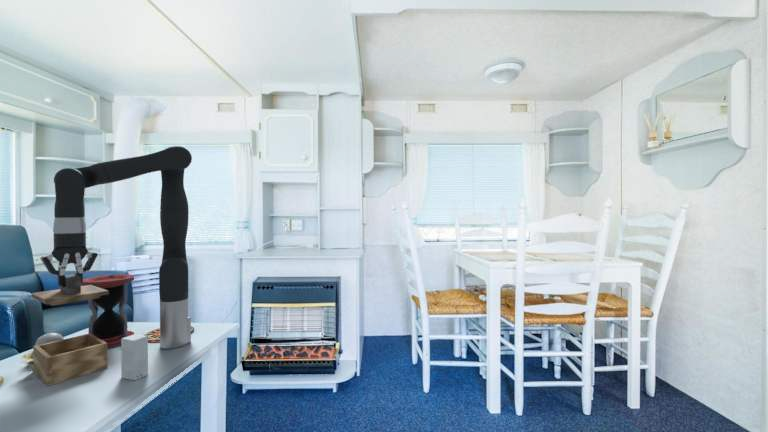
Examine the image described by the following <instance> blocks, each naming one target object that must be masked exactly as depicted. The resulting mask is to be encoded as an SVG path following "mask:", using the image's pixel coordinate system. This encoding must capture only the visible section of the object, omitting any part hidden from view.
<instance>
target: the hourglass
mask: <svg viewBox="0 0 768 432" xmlns="http://www.w3.org/2000/svg"><path fill="white" fill-rule="evenodd" d="M133 281H135V275H134V274H127V273H124V274H107V275H98V276H92V277H87V278H83V282H82V283H81V286H86V285H93V286H96V287H99V288H102V289H105V290H108V291H109V294H108V295H102V296H100V298H96V299H90V300H87V301H88V307H89V309H90V310H91V313H92V314H91V315H90V318H89V324H88V334H90V333H91V334H92V335H94V336H96V337H98V338H99V339H101V340H103V341H105V342H106V343H107V349H109V348H110V349H111V348H115V347H118V346H121V339H122V338H124V337H128V336H131V335H134V334H135V333H134V331H132V330H128V318H127V311H126V310H125V306H126V305H127V302H128V283H130V282H133ZM117 305H118V312H119V313H118V312H116V311H115V310H113V309H114V308H115V307H116V306H117ZM98 307H99V308H101V309H102V310H104V311H103V312H102V313H101V314H100V315H99V316H98V313H99V312H98V311H99V308H98Z"/></svg>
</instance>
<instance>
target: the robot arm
mask: <svg viewBox="0 0 768 432" xmlns="http://www.w3.org/2000/svg"><path fill="white" fill-rule="evenodd" d="M192 161H193V157H192V154H191V152H190V151H189V150H188V149H187V148H186V147H183V146H181V145H172V146H169V147H166V148H165V149H162V150H159V151H156V152H153V153H152V152H151V153H149V154H145V155H139V156H132V157H126V158H121V159H113V160H108V161H103V162H97V163H93V164H92V165H89V166H84V167H76V168H72V167H66V168H62V169H60V170H58V171H57V172H56V173H55V175H54V177H53V183H54V192H55V202H54V221H53V228H52V232H53V250H52V251H51V253H50V254H48V255H45V256H43V255H42V256H41V257H40V258H39V259H40V261H41V262H42V264H43V266H44V267H45V269H46V270H47V271H48V273H49V274H51V275H55V276H57V285H58V286H59V287H60V286H61V287H65V275H66V268H67V267H68V265H70V264H73V266H74V267H75V268H74V269H75V273H74V275H76V276H80V277H81V283H82V282H83V279H84V278H83V274H84V273H85V272H89V271H91V269H92V267H93V265H94V264H95V261H96V259H97V257H98V253H97V252H91V251H89V250H88V249H87V233H86V231H87V228H86V227H87V226H86V225H87V224H86V217H85V203H84V200H85V191H86V189H87V188H91V187H94V186H97V185H98V186H99V185H106V184H111V183H115V182H120V181H123V180H124V181H125V180H128V179H132V178H135V177H138V176H142V175H145V174H149V173H154V172H160V174H161V190H160V191H161V192H160V208H159V210H160V213H159V214H160V215H159V216H160V217H159V219H160V220H159V223H160V231H161V236H162V241H163V243H162V244H163V249H162V251H163V252H162V258H161V264H160V266H159V270H158V282H159V283H158V285H159V286H158V287H159V288H158V289H159V290H158V291H159V292H158V293H159V347H160V348H161V349H165V350H166V349H167V350H168V349H169V350H170V349H177V348H181V347H183V346H186V345H187V344H189V343H191V342H192V329H191V328H192V326H191V325H192V320H191V319H192V318H191V317H190V316H189V263H188V260H187V251H186V250H187V249H186V241H187V234H188V230H189V229H188V227H189V211H190V210H189V202H188V196H187V194H186V190H185V186H184V179H185V169H187V168H189V166H190V165H191V163H192ZM85 257H86V258H87V260H86V262H85V264H84V265H83V262H82V260H83V259H84V258H85ZM53 258H54V259H55V260H56V261H57V262H58V265H57V266H58V267H57V270H56V268H55V267H54V265H53V264H52V262H53Z"/></svg>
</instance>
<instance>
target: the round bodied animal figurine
mask: <svg viewBox="0 0 768 432" xmlns="http://www.w3.org/2000/svg"><path fill="white" fill-rule="evenodd" d="M63 339H64V337H63V335H62V334H61V333H58V332H48V333H45V334H43V335H41V336H40V337H38V338H37V339H36V341H35V344H34V346H37V345H42V344H46V343H50V342H55V341H59V340H63ZM29 359H32V360H33V351H32V352H31V353H30V354H29Z"/></svg>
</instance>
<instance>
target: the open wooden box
mask: <svg viewBox="0 0 768 432" xmlns="http://www.w3.org/2000/svg"><path fill="white" fill-rule="evenodd" d="M32 352H33V359H32V360H33V369H32V370H33V373H34V374H35V375H36V376H37V377H38V379H40V380H41V381H42V382H43V383H44V384H45V385H46V386H47V387H49V386H52V385H53V386H54V385H56V384H60V383H62V382H66V381H68V380H71V379H75V378H79V377H82V376H86V375H88V374H89V375H90V374H92V373H94V372H98V371H101V370H105V369H107V368H109V367H108V363H109V362H108V358H109V357H108V348H107V343H106V342H105V341H103V340H101V339H99V338H98V337H96V336H94V335H92V334H91V333H90V334H89V333H86V334H80V335H78V336H73V337H68V338H65V339H63V340H59V341H55V342H50V343H46V344H42V345H37V346H35V345H34V346H33V348H32Z"/></svg>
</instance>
